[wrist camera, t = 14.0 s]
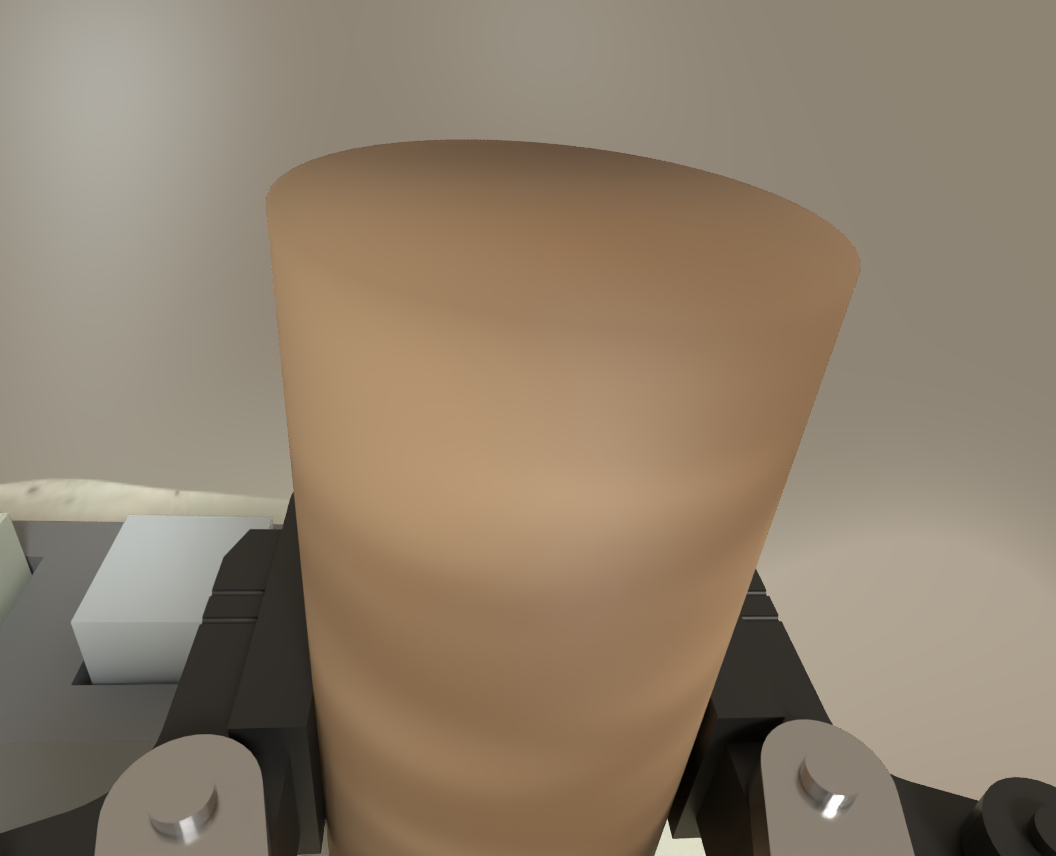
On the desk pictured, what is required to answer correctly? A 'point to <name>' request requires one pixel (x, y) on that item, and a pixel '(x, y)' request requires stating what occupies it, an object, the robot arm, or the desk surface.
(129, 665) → the grey-blue key
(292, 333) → the brown wooden cylinder
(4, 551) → the sage key
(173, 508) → the desk surface
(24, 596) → the key console
